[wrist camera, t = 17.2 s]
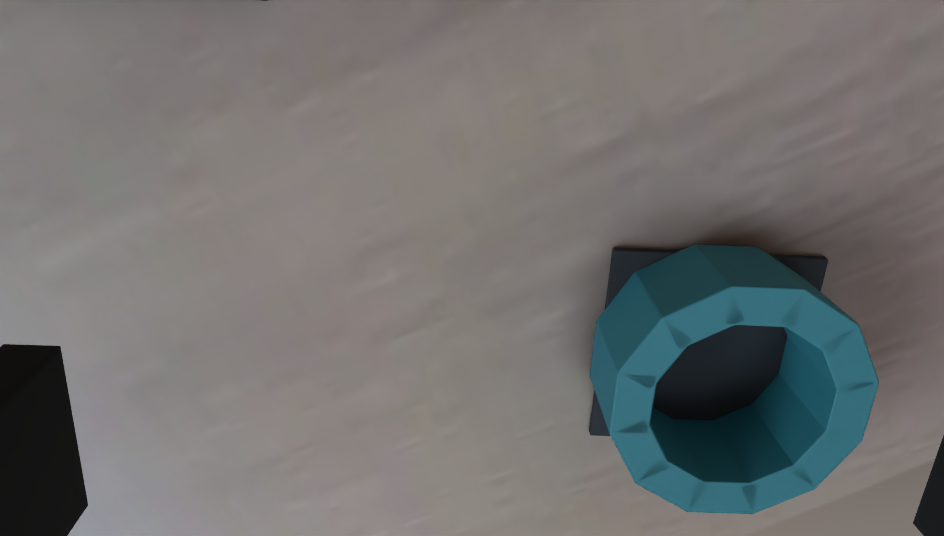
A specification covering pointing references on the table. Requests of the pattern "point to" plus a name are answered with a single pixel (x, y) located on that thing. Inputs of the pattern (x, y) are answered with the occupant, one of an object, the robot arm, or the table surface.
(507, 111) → the table surface
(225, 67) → the table surface
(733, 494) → the tape roll
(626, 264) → the mat
